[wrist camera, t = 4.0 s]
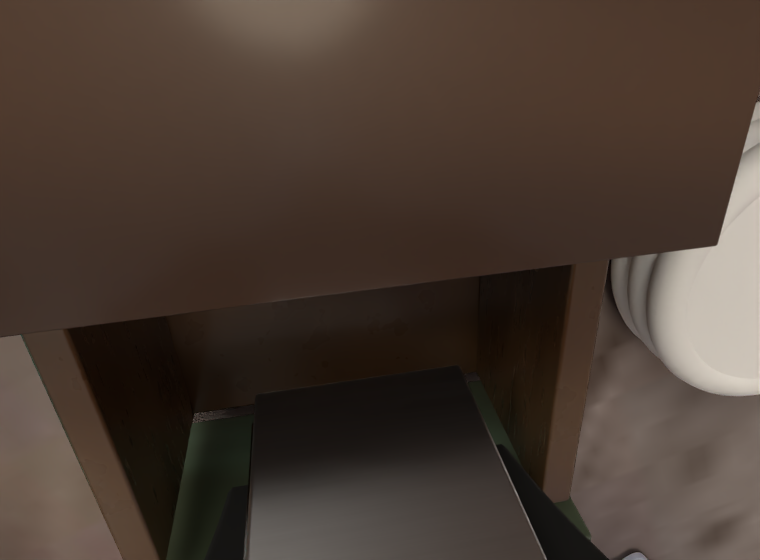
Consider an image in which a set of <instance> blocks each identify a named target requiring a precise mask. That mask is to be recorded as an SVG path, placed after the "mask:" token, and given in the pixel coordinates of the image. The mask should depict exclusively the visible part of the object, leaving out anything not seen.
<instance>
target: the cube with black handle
mask: <svg viewBox="0 0 760 560" xmlns="http://www.w3.org/2000/svg"><path fill="white" fill-rule="evenodd" d="M243 560H547V558H546V556H545V554H544V552H543V549H542V547H541V545H540V543H539V541H538V538H537V536H536V534H535V532H534V530H533V527H532V525H531V523H530V521H529V518H528V516H527V514H526V512H525V510H524V507H523V505H522V503H521V501H520V498H519V496H518V494H517V492H516V490H515V487H514V485H513V483H512V481H511V478H510V476H509V474H508V472H507V470H506V467H505V465H504V463H503V461H502V458H501V456H500V454H499V452H498V450H497V447H496V445H495V443H494V441H493V439H492V436H491V434H490V432H489V430H488V427H487V425H486V423H485V421H484V419H483V416H482V414H481V412H480V410H479V407H478V405H477V403H476V401H475V399H474V396H473V394H472V392H471V390H470V387H469V385H468V383H467V381H466V379H465V376H464V374H463V372H462V370H461V368H460V366H459V365H453V366H446V367H439V368H432V369H426V370H419V371H412V372H405V373H398V374H391V375H384V376H377V377H370V378H363V379H356V380H349V381H342V382H335V383H328V384H322V385H315V386H308V387H301V388H294V389H287V390H280V391H273V392H266V393H259V394H257V395H256V397H255V409H254V423H253V424H252V431H251V446H250V462H249V477H248V493H247V508H246V524H245V539H244V555H243Z"/></svg>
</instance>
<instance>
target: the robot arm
mask: <svg viewBox="0 0 760 560" xmlns="http://www.w3.org/2000/svg"><path fill="white" fill-rule="evenodd" d="M496 447H497V450H498V452H499V454H500V456H501V458H502V461H503V463H504V465H505V467H506V470H507V472H508V474H509V476H510V478H511V481H512V483H513V485H514V487H515V490H516V492H517V494H518V496H519V498H520V501H521V503H522V505H523V507H524V510H525V512H526V514H527V516H528V518H529V521H530V523H531V525H532V527H533V530H534V532H535V534H536V536H537V538H538V541H539V543H540V545H541V547H542V549H543V552H544V554H545V556H546V558H547V560H609V559H608V558H607V557H606V556H605V555H604V554H603V553H602V552H601V551H600V550H599V549H598V548H597V547H596V546H595V545H594V544H593V543H592V542H591V541H590V540H589V539H588V538H587V537H586V536H585V535H584V534H583V533H582V532H581V531H580V530H579V529H578V528H577V527H576V526H575V525H574V524H573V523H572V522H571V521H570V520H569V519H568V518H567V517H566V516H565V515H564V514H563V512H562V511H561V510H560V509H559V508H558V507H557V506H556V505H555V504H554V503H553V502H552V501H551V499H550V498H549V497H548V496H547V495H546V494H545V493H544V492H543V490H542V489H541V488H540V487H539V486H538V485H537V484H536V483H535V481H534V480H533V479H532V478H531V477H530V476H529V474H528V473H527V472H526V471H525V470H524V469H523V467H522V466H521V465H520V464H519V463H518V461H517V460H516V459H515V458H514V456H513V455H512V454H511V453H510V452H509V450H508V449H507V448H506V447H505V446H504V445H502V444H498V445H496ZM247 493H248V485H244V486H237V487H233V488H232V489H231V490H230V491H229V492H228V494H227V498H226V501H225V504H224V508H223V510H222V513H221V516H220V519H219V522H218V525H217V528H216V530H215V533H214V536H213V538H212V541H211V543H210V546H209V548H208V551H207V553H206V556H205V558H204V560H243V555H244V539H245V524H246V508H247ZM621 560H648V559H647V558H646V557H645V556H644V555H643V554H642V553H639V552H636V553H632V554H630V555H628V556H627V557H625V558H623V559H621Z"/></svg>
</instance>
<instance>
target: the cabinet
mask: <svg viewBox="0 0 760 560" xmlns="http://www.w3.org/2000/svg"><path fill="white" fill-rule="evenodd" d="M759 90H760V0H0V337H6V336H14V335H22V334H30V333H37V332H45V331H53V330H61V329H69V328H77V327H84V326H92V325H100V324H108V323H116V322H124V321H132V320H139V319H147V318H155V317H163V316H171V315H179V314H187V313H194V312H202V311H210V310H218V309H226V308H234V307H241V306H249V305H257V304H265V303H273V302H281V301H289V300H296V299H304V298H312V297H320V296H328V295H336V294H343V293H351V292H359V291H367V290H375V289H383V288H391V287H398V286H406V285H414V284H422V283H430V282H438V281H445V280H453V279H461V278H469V277H477V276H485V275H493V274H500V273H508V272H516V271H524V270H532V269H540V268H548V267H555V266H563V265H571V264H579V263H587V262H595V261H602V260H610V259H618V258H626V257H634V256H642V255H650V254H657V253H665V252H673V251H681V250H689V249H697V248H704V247H712V246H716V245H717V244H718V241H719V237H720V234H721V230H722V226H723V223H724V219H725V215H726V212H727V208H728V204H729V201H730V197H731V193H732V190H733V186H734V182H735V179H736V175H737V171H738V168H739V164H740V160H741V157H742V153H743V149H744V146H745V142H746V138H747V134H748V131H749V127H750V123H751V120H752V116H753V112H754V109H755V105H756V101H757V98H758V94H759Z"/></svg>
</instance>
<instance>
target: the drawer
mask: <svg viewBox="0 0 760 560" xmlns="http://www.w3.org/2000/svg"><path fill="white" fill-rule="evenodd" d="M608 264H609V260H602V261H595V262H587V263H579V264H571V265H563V266H555V267H548V268H540V269H532V270H524V271H516V272H508V273H500V274H493V275H485V276H477V277H469V278H461V279H453V280H445V281H438V282H430V283H422V284H414V285H406V286H398V287H391V288H383V289H375V290H367V291H359V292H351V293H343V294H336V295H328V296H320V297H312V298H304V299H296V300H289V301H281V302H273V303H265V304H257V305H249V306H241V307H234V308H226V309H218V310H210V311H202V312H194V313H187V314H179V315H171V316H163V317H155V318H147V319H139V320H132V321H124V322H116V323H108V324H100V325H92V326H84V327H77V328H69V329H61V330H53V331H45V332H37V333H30V334H22V335H21V336H22V339H23V341H24V343H25V345H26V347H27V350H28V352H29V354H30V356H31V358H32V361H33V363H34V365H35V367H36V369H37V372H38V374H39V376H40V378H41V380H42V382H43V385H44V387H45V389H46V391H47V393H48V396H49V398H50V400H51V402H52V404H53V407H54V409H55V411H56V413H57V415H58V418H59V420H60V422H61V424H62V426H63V429H64V431H65V433H66V435H67V437H68V440H69V442H70V444H71V446H72V448H73V451H74V453H75V455H76V457H77V459H78V461H79V464H80V466H81V468H82V470H83V472H84V475H85V477H86V479H87V481H88V483H89V486H90V488H91V490H92V492H93V494H94V497H95V499H96V501H97V503H98V505H99V508H100V510H101V512H102V514H103V516H104V519H105V521H106V523H107V525H108V527H109V530H110V532H111V534H112V536H113V538H114V541H115V543H116V545H117V547H118V549H119V551H120V554H121V556H122V558H123V560H204V558H205V556H206V553H207V551H208V548H209V546H210V543H211V541H212V538H213V536H214V533H215V530H216V528H217V525H218V522H219V519H220V516H221V513H222V510H223V508H224V504H225V501H226V498H227V494H228V492H229V491H230V490H231V489H232V488H233V487H237V486H244V485H248V477H249V462H250V446H251V431H252V424H253V423H254V414H251V415H244V416H238V417H231V418H224V419H217V420H211V421H204V422H197V423H192V421H193V416H194V413H198V412H205V411H212V410H219V409H225V408H232V407H239V406H246V405H253V404H255V397H256V395H257V394H259V393H266V392H273V391H280V390H287V389H294V388H301V387H308V386H315V385H322V384H328V383H335V382H342V381H349V380H356V379H363V378H370V377H377V376H384V375H391V374H398V373H405V372H412V371H419V370H426V369H432V368H439V367H446V366H453V365H459V366H460V368H461V370H462V372H463V374H464V373H471V372H477V374H478V376H479V378H480V381H473V382H467V383H468V385H469V387H470V390H471V392H472V394H473V396H474V399H475V401H476V403H477V405H478V407H479V410H480V412H481V414H482V416H483V419H484V421H485V423H486V425H487V427H488V430H489V432H490V434H491V436H492V439H493V441H494V443H495V445H498V444H502V445H504V446H505V447H506V448H507V449H508V450H509V452H510V453H511V454H512V455H513V456H514V458H515V459H516V460H517V461H518V463H519V464H520V465H521V466H522V467H523V469H524V470H525V471H526V472H527V473H528V474H529V476H530V477H531V478H532V479H533V480H534V481H535V483H536V484H537V485H538V486H539V487H540V488H541V489H542V490H543V492H544V493H545V494H546V495H547V496H548V497H549V498H550V499H551V501H552V502H553V503H554V504H555V505H556V506H557V507H558V508H559V509H560V510H561V511H562V512H563V514H564V515H565V516H566V517H567V518H568V519H569V520H570V521H571V522H572V523H573V524H574V525H575V526H576V527H577V528H578V529H579V530H580V531H581V532H582V533H583V534H584V535H585V536H586V537H587V538H588V539H589V540H590V541H591V534H590V532H589V530H588V528H587V527H586V525H585V523H584V521H583V519H582V517H581V516H580V514H579V512H578V510H577V508H576V506H575V505H574V503H573V501H572V499H571V497H570V491H571V485H572V479H573V473H574V467H575V461H576V455H577V449H578V443H579V437H580V431H581V425H582V419H583V413H584V407H585V401H586V395H587V389H588V383H589V377H590V372H591V366H592V360H593V354H594V348H595V342H596V336H597V330H598V324H599V318H600V312H601V306H602V300H603V294H604V288H605V282H606V276H607V270H608Z"/></svg>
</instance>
